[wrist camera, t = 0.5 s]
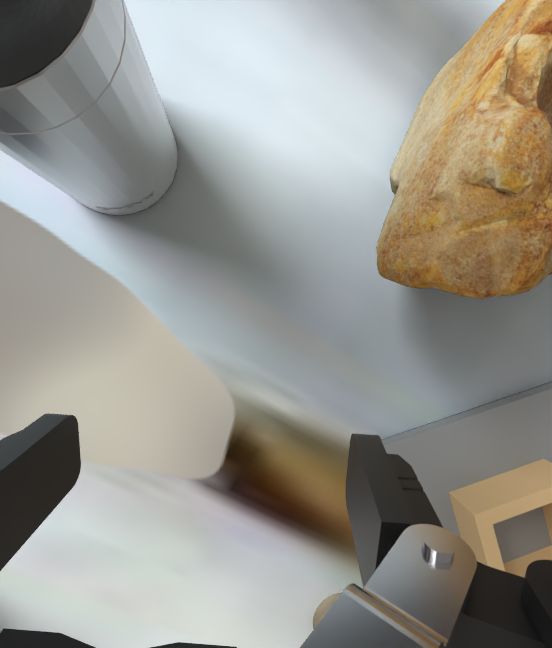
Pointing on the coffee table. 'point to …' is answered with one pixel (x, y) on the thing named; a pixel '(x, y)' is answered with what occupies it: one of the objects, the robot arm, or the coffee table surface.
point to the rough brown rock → (479, 166)
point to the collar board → (490, 476)
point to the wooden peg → (324, 608)
